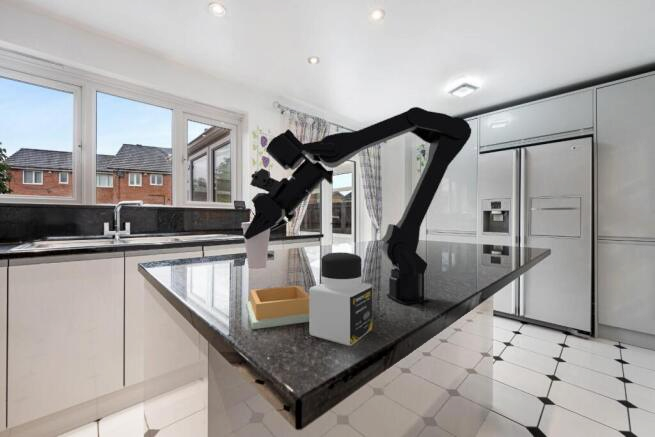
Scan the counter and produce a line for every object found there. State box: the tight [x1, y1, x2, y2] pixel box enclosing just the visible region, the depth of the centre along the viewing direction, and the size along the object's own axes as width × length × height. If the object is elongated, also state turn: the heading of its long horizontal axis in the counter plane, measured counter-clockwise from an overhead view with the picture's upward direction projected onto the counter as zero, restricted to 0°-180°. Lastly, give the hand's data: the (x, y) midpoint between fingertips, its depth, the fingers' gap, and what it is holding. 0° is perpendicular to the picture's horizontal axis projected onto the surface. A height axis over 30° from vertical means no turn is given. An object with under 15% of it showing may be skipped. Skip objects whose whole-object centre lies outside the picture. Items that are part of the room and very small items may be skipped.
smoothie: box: [241, 221, 271, 270], centre depth 62 cm, size 6×6×14 cm
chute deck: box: [245, 285, 309, 330], centre depth 53 cm, size 20×12×4 cm, turn 111°
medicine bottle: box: [308, 251, 373, 347], centre depth 43 cm, size 7×7×12 cm
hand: (250, 236), depth 62 cm, fingers closed on smoothie, 6 cm apart
